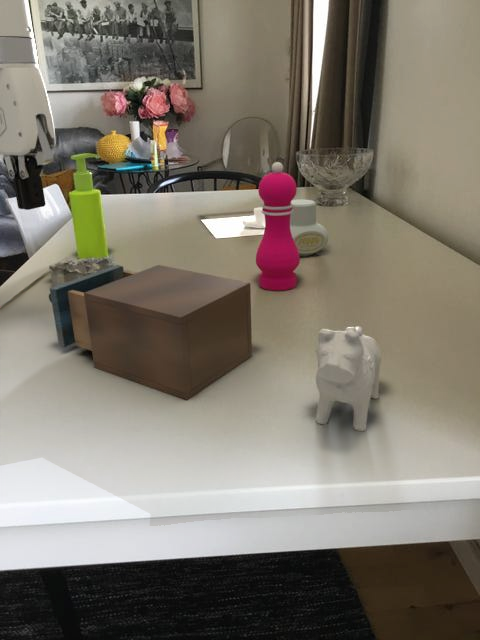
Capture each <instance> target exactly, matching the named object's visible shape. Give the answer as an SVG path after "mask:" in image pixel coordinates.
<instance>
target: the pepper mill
mask: <svg viewBox="0 0 480 640" xmlns="http://www.w3.org/2000/svg"><path fill="white" fill-rule="evenodd" d="M283 170H284V166H283V164H282V162H279V161H275V162H274V163H273V164H272V165H271V171H272V172H270V173H267V174H265V175H264V176H263V177H262V178H261V180H260V181H259V184H258V187H257V188H258V189H257V192H258V196H259V198H260V199H261V200H262V201H263V203H262V204H261V207H262V209H263V210H262V213H263V214H264V215H265V231H264V234H263V235H262V237H261V240H260V243H259V245H258V247H257V250H256V251H257V252H256V254H255V264H256V266H257V268H258V269H259V270H260V271H261V272H260V273H259V275H258V285H259V287H260V288H261V289H264V290H267V291H274V292H276V291H278V292H279V291H287V290H290V289H291V290H292V289H294V288H295V287H296V286H297V277H298V276H297V274H296V272H295V270H297V268H298V267H299V265H300V261H301V260H300V256H299V252H298V248H297V246H296V244H295V242H294V240H293V237H292V234H291V230H290V215H291V213H293V208H292V207H293V204H292V203H291V201H292V200H294V199H295V197H296V196H297V189H298V188H297V187H298V186H297V183H296V180H295V179H294V177H293V176H291V175H290V174H288V173H286V172H283Z"/></svg>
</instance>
